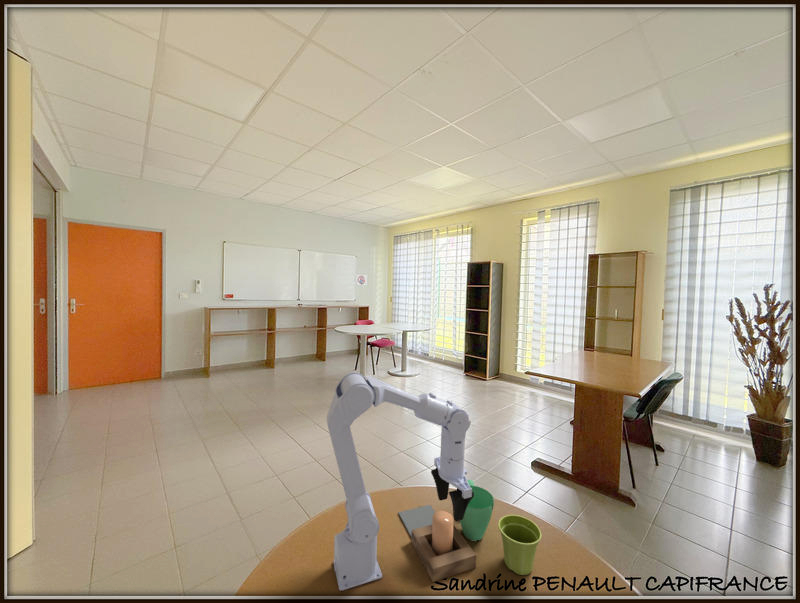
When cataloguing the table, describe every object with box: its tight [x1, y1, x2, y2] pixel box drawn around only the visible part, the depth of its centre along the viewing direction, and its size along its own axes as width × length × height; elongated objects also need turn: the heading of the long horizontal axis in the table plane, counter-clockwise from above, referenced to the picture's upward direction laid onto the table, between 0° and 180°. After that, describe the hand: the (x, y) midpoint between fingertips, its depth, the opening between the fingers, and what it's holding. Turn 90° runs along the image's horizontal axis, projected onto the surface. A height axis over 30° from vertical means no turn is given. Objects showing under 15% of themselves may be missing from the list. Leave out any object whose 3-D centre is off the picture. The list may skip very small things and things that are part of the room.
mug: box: [459, 479, 495, 542], centre depth 87 cm, size 15×10×10 cm
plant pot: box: [497, 514, 543, 576], centre depth 76 cm, size 9×9×9 cm
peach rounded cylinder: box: [431, 510, 455, 557], centre depth 78 cm, size 5×5×9 cm
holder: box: [410, 524, 477, 583], centre depth 78 cm, size 11×12×3 cm
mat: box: [398, 504, 436, 537], centre depth 89 cm, size 10×10×1 cm
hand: (450, 508), depth 79 cm, fingers open, 7 cm apart
